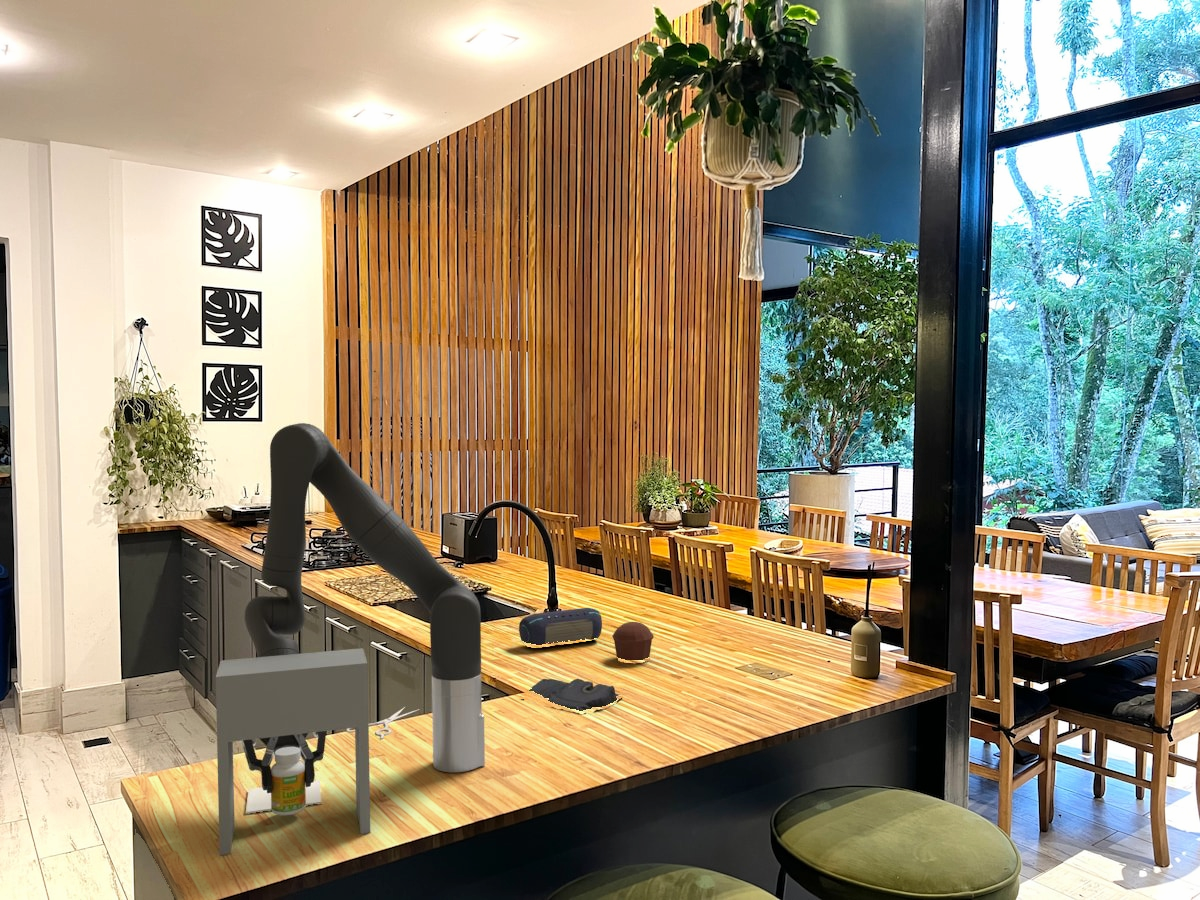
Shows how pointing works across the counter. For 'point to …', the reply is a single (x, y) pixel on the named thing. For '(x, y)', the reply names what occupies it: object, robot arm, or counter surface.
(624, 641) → the muffin
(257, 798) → the white flat rectangular board
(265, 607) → the robot arm
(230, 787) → the grey rectangular arch
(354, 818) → the counter surface
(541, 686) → the crumpled dark grey cloth
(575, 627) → the portable speaker
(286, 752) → the supplement bottle
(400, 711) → the scissors
